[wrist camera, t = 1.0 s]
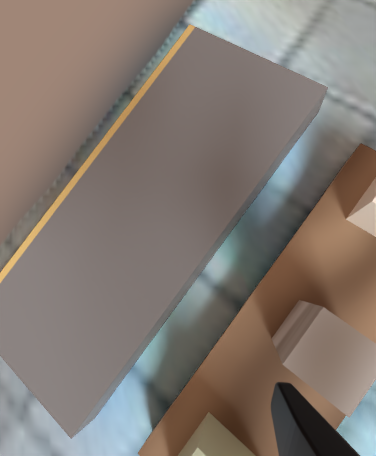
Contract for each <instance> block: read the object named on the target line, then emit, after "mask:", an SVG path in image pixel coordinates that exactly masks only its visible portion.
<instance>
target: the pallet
mask: <svg viewBox="0 0 376 456" xmlns="http://www.w3.org/2000/svg"><path fill="white" fill-rule="evenodd" d="M375 178H376V151H375V150H373V149H371V148H369V147H367V146H365V145H363V144H360V145H359V146H358V147H357V149H356V150H355V151H354V152H353V154H352V155H351V156H350V158H349V159H348V160H347V161H346V163H345V164H344V166H343V167H342V168H341V170H340V171H339V172H338V174H337V175H336V177H335V178H334V179H333V181H332V182H331V184H330V185H329V186H328V188H327V189H326V191H325V192H324V194H323V195H322V197H321V198H320V200H319V201H318V202H317V204H316V205H315V207H314V208H313V209H312V211H311V212H310V214H309V215H308V216H307V218H306V219H305V221H304V222H303V223H302V225H301V226H300V227H299V229H298V230H297V232H296V233H295V234H294V236H293V237H292V239H291V240H290V241H289V243H288V244H287V246H286V247H285V248H284V250H283V251H282V252H281V254H280V255H279V257H278V258H277V259H276V261H275V262H274V264H273V265H272V266H271V268H270V269H269V271H268V272H267V273H266V275H265V276H264V277H263V278H262V279H261V281H260V282H259V284H258V285H257V286H256V288H255V289H254V291H253V292H252V293H251V295H250V296H249V298H248V299H247V300H246V302H245V303H244V304H243V306H242V307H241V309H240V311H239V312H238V314H237V315H236V316H235V318H234V319H233V321H232V322H231V323H230V325H229V326H228V328H227V329H226V330H225V332H224V333H223V334H222V336H221V337H220V339H219V340H218V341H217V343H216V344H215V346H214V347H213V348H212V350H211V351H210V353H209V354H208V355H207V357H206V358H205V359H204V361H203V362H202V364H201V365H200V366H199V368H198V369H197V371H196V372H195V373H194V375H193V376H192V378H191V379H190V380H189V382H188V383H187V384H186V386H185V387H184V389H183V390H182V391H181V393H180V394H179V396H178V397H177V398H176V399H175V400H174V402H173V403H172V405H171V406H170V407H169V409H168V410H167V411H166V413H165V414H164V416H163V417H162V418H161V420H160V421H159V423H158V424H157V425H156V427H155V428H154V430H153V431H152V432H151V434H150V435H149V437H148V438H147V440H146V442H145V443H144V445H143V446H142V448H141V449H140V451H139V452H138V454H139V455H140V456H178V455H179V453H180V452H181V450H182V449H183V447H184V446H185V445H186V443H187V442H188V440H189V439H190V438H191V436H192V435H193V433H194V432H195V431H196V429H197V428H198V426H199V425H200V424H201V422H202V421H203V419H204V418H205V416H206V415H207V414H208V412H209V413H210V414H211V415H213V416H214V417H215V418H216V419H217V420H218V421H219V422H220V423H221V424H222V425H223V426H224V427H225V428H226V429H228V430H229V431H230V432H231V433H232V434H233V435H234V436H235V437H236V438H237V439H238V440H239V441H240V442H242V443H243V444H244V445H245V446H246V447H247V448H248V449H249V450H250V451H251V452H252V453H253V454H254V455H256V456H279V453H278V448H277V442H276V437H275V431H274V426H273V420H272V414H271V400H272V395H273V391H274V386H275V384H276V383H277V382H288V383H291V384H292V385H293V386H294V387H295V388H296V389H297V390H298V391H299V392H300V393H301V394H302V395H303V396H304V397H305V398H306V399H307V401H308V402H309V403H310V404H311V405H312V406H313V407H314V408H315V409H316V410H317V411H318V412H319V413H320V414H321V415H322V416H323V417H324V418H325V419H326V420H327V422H328V423H329V424H330V425H331V426H332V427H333V428H334V429H335V430H336V429H337V428H338V426H339V425H340V423H341V422H342V420H343V419H344V417H345V416H348V417H350V416H351V415H352V413H353V412H354V410H355V409H356V407H357V406H358V404H359V403H360V401H361V400H362V399H363V397H364V396H365V394H366V393H367V391H368V390H369V388H370V387H371V386H372V384H373V383H374V381H375V380H376V237H375V236H373V235H372V234H370V233H368V232H367V231H365V230H363V229H362V228H360V227H358V226H356V225H355V224H353V223H351V222H350V221H348V220H346V218H347V217H348V215H349V214H350V213H351V211H352V210H353V208H354V207H355V206H356V204H357V203H358V201H359V200H360V199H361V197H362V196H363V194H364V193H365V192H366V190H367V189H368V187H369V186H370V185H371V183H372V182H373V180H374V179H375Z"/></svg>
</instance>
